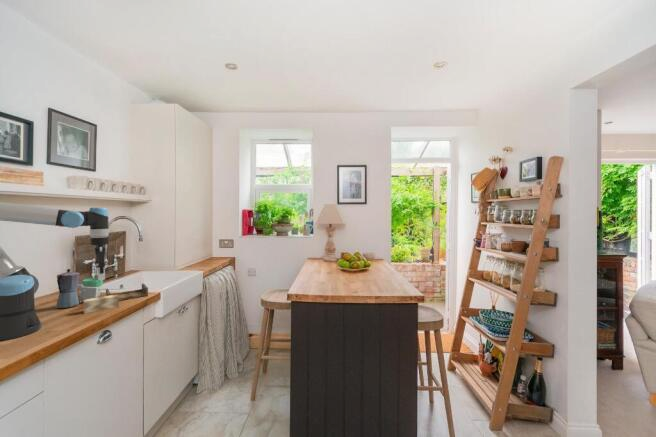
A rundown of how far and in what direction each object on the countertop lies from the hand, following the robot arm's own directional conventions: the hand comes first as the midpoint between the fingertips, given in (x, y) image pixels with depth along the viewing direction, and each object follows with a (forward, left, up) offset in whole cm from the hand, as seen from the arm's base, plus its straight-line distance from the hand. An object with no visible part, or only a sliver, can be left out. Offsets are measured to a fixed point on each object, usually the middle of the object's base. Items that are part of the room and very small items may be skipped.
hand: (100, 277), depth 147 cm
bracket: (-5, +23, -17) cm, 29 cm away
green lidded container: (-1, +37, -17) cm, 41 cm away
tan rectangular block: (0, 0, -17) cm, 17 cm away
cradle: (+13, +17, -16) cm, 27 cm away
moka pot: (-13, +18, -17) cm, 28 cm away
